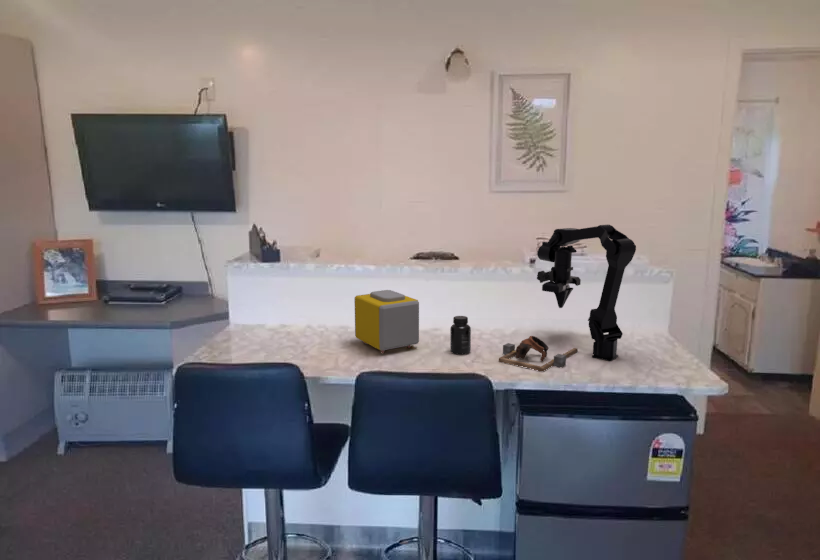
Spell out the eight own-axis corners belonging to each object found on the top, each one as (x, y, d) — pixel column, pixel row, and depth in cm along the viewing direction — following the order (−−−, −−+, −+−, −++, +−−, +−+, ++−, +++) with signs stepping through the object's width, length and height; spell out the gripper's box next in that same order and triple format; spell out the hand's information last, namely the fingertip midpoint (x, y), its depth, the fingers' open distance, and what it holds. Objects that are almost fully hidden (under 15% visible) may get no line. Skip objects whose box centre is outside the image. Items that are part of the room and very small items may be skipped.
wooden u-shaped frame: (585, 353, 199) (585, 344, 199) (550, 374, 180) (551, 363, 180) (529, 342, 212) (529, 333, 212) (491, 359, 193) (491, 350, 192)
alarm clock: (421, 349, 205) (421, 296, 201) (381, 356, 196) (380, 302, 193) (392, 335, 221) (392, 286, 218) (354, 342, 213) (353, 291, 209)
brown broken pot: (522, 352, 202) (535, 333, 199) (542, 371, 196) (556, 351, 194) (503, 352, 193) (517, 331, 190) (523, 371, 187) (538, 350, 185)
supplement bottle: (470, 349, 204) (471, 315, 202) (470, 355, 198) (471, 320, 195) (450, 348, 205) (450, 314, 203) (449, 354, 198) (450, 319, 196)
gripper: (553, 258, 221) (551, 299, 224) (529, 265, 207) (527, 309, 210) (582, 261, 214) (579, 304, 217) (559, 268, 200) (556, 314, 203)
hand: (560, 307), depth 212 cm, fingers closed
